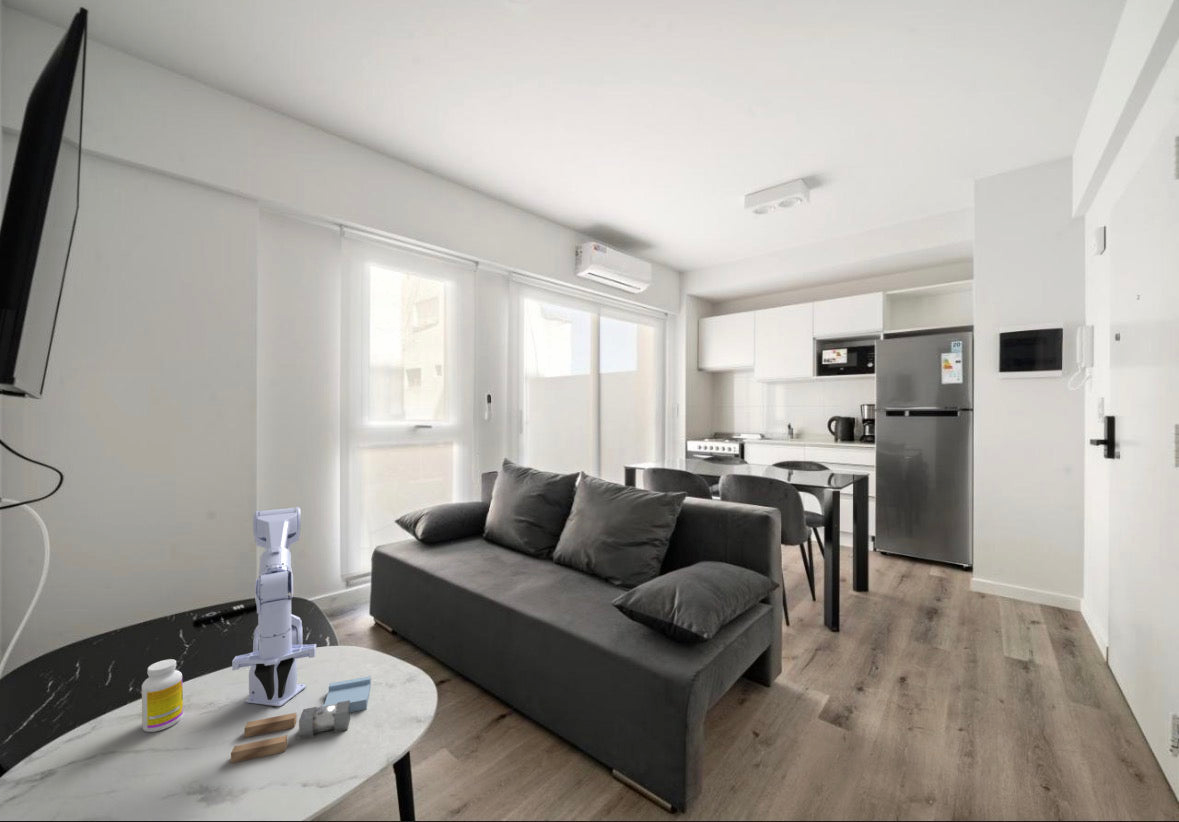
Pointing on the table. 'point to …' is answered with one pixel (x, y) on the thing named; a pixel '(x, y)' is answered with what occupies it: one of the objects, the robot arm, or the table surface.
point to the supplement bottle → (162, 696)
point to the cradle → (350, 693)
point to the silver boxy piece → (324, 719)
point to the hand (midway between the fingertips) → (276, 696)
